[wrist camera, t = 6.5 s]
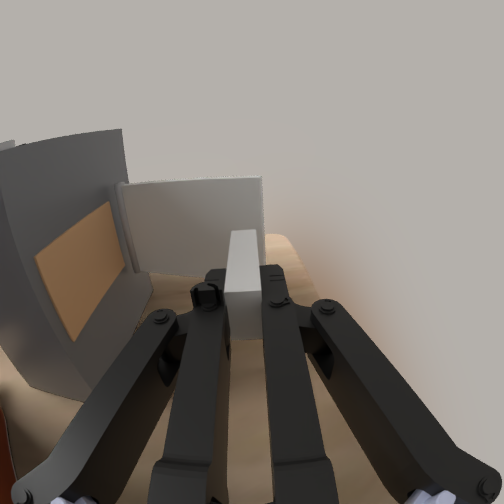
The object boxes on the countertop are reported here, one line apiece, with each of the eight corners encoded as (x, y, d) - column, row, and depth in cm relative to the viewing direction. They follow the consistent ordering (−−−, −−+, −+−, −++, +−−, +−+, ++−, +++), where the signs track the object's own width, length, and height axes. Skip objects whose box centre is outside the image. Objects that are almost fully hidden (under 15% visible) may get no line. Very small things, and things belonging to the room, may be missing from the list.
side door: (132, 273, 24) (111, 185, 20) (137, 267, 24) (118, 182, 21) (264, 286, 21) (258, 175, 17) (266, 279, 22) (261, 172, 18)
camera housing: (98, 281, 32) (65, 138, 23) (160, 278, 32) (131, 118, 23) (29, 386, 15) (-63, 178, 7) (106, 406, 15) (-5, 132, 7)
